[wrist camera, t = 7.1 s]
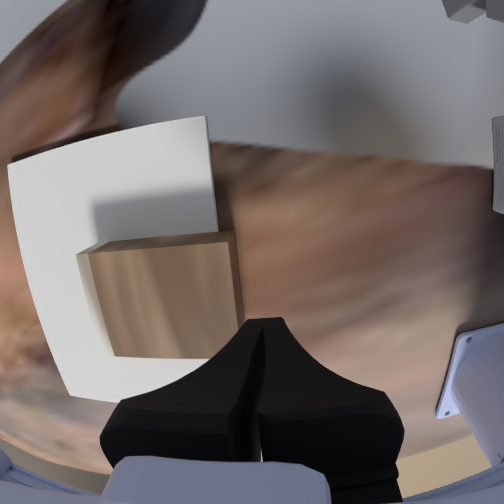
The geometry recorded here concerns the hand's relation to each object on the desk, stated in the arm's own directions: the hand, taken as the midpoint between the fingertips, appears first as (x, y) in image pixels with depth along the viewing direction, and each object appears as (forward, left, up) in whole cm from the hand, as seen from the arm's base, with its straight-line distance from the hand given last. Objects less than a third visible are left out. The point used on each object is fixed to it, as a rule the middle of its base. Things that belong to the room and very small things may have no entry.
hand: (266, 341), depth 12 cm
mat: (+9, 0, -6) cm, 11 cm away
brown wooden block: (+2, 0, -5) cm, 5 cm away
